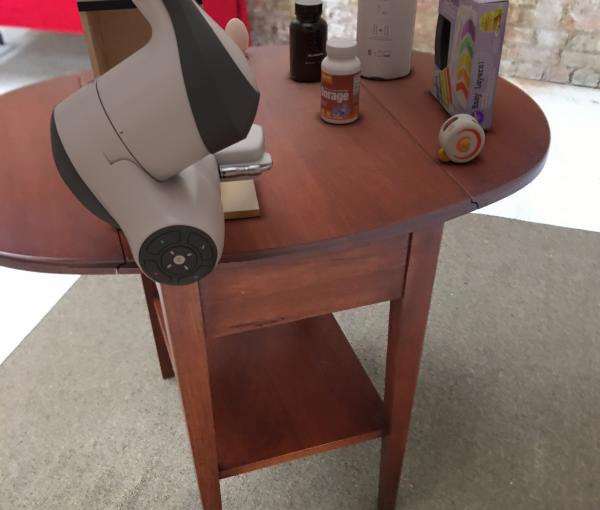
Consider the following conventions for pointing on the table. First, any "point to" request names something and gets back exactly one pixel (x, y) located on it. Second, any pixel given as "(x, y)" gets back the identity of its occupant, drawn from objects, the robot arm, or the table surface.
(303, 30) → the supplement bottle
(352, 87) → the pill bottle
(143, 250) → the robot arm
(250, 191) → the board
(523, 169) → the table surface
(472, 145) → the roller toy
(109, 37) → the wooden cubby shelf
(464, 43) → the cake pan box
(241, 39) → the egg
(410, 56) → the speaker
